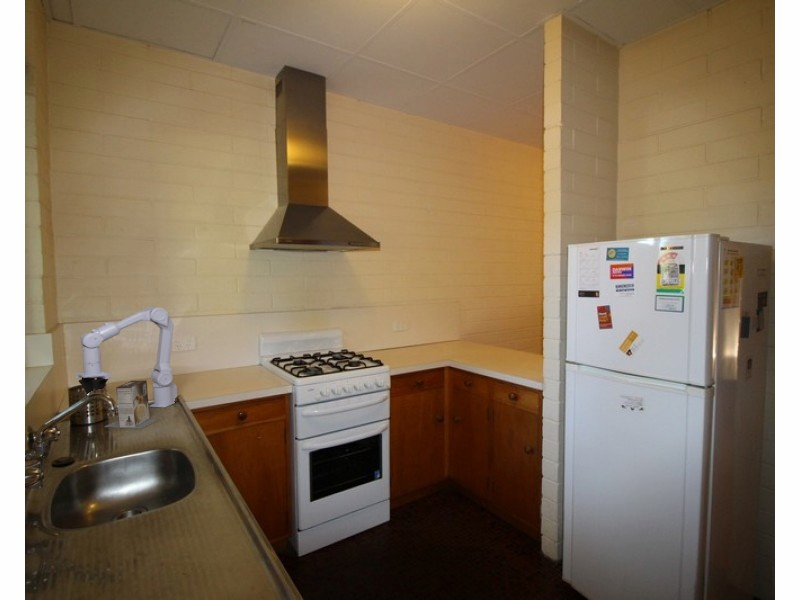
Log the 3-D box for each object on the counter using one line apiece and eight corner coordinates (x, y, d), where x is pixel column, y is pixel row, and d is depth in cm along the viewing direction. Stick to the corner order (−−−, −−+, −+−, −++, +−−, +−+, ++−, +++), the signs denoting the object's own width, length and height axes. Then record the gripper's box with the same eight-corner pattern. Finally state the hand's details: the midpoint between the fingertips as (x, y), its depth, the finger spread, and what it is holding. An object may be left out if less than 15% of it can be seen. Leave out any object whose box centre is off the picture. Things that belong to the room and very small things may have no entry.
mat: (123, 418, 169) (123, 417, 169) (158, 420, 166) (158, 419, 166) (104, 427, 160) (104, 426, 160) (140, 429, 157) (140, 428, 157)
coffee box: (134, 418, 167) (131, 380, 166) (150, 418, 167) (147, 380, 166) (118, 427, 158) (115, 386, 157) (135, 427, 158) (132, 386, 157)
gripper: (67, 364, 162) (70, 398, 163) (98, 365, 159) (101, 399, 161) (83, 360, 169) (86, 392, 170) (114, 361, 166) (117, 393, 168)
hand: (95, 395), depth 166 cm, fingers open, 4 cm apart
